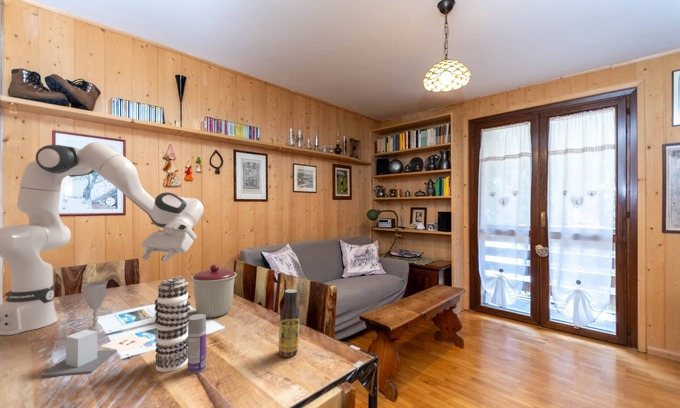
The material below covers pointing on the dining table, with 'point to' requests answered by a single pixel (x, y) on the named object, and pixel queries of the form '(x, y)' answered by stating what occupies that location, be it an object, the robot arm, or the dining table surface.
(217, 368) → the dining table surface
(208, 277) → the canister
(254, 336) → the dining table surface
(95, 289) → the chalice
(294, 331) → the sauce bottle
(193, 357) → the container
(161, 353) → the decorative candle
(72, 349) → the grey blue block
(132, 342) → the card
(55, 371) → the slate coaster
